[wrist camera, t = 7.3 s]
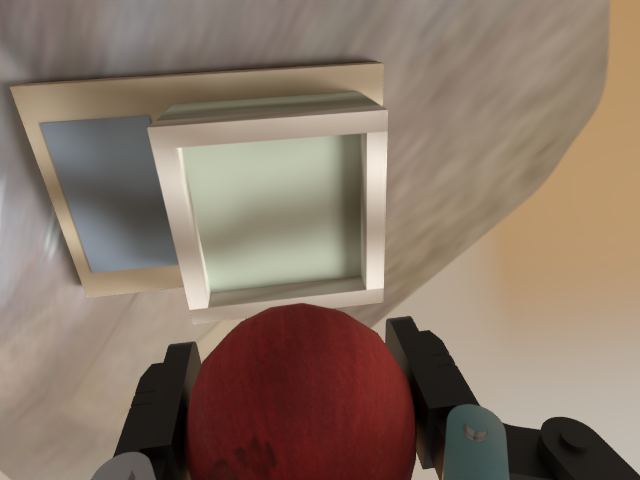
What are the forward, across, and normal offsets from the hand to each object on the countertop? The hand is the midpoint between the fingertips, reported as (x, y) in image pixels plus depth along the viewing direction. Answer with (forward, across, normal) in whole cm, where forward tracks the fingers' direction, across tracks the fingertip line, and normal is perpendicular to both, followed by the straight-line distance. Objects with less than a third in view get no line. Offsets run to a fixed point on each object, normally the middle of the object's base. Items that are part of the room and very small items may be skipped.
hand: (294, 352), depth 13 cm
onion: (+1, 0, 0) cm, 1 cm away
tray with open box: (+18, +4, 0) cm, 18 cm away
